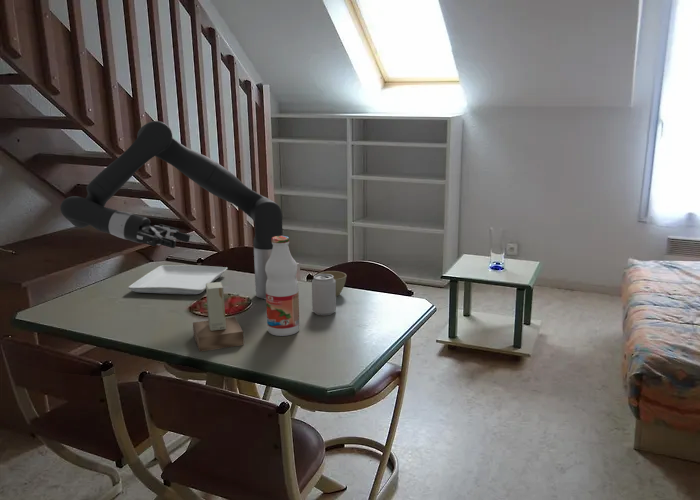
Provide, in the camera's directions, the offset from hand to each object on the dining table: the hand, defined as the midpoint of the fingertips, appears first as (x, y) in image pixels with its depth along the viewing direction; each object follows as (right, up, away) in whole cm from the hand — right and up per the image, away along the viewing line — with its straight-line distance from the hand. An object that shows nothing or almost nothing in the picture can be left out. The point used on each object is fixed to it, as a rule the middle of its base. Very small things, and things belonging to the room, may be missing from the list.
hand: (182, 241), depth 172 cm
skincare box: (+10, -24, 0) cm, 26 cm away
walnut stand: (+10, -28, +1) cm, 30 cm away
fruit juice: (+28, -26, +7) cm, 39 cm away
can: (+39, -22, +22) cm, 50 cm away
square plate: (-15, -16, +51) cm, 55 cm away
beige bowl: (+41, -18, +38) cm, 59 cm away
